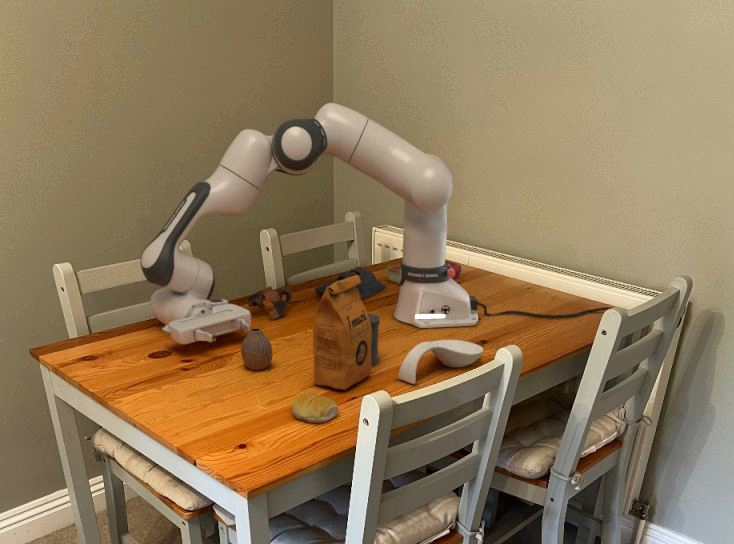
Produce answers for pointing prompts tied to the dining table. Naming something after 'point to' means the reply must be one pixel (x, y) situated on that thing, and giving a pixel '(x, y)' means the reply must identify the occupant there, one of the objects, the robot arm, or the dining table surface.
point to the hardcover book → (395, 271)
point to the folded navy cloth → (365, 288)
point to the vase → (256, 350)
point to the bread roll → (314, 408)
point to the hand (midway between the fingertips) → (230, 333)
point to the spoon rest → (440, 356)
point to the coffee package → (341, 336)
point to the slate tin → (374, 337)
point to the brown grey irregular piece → (271, 300)
